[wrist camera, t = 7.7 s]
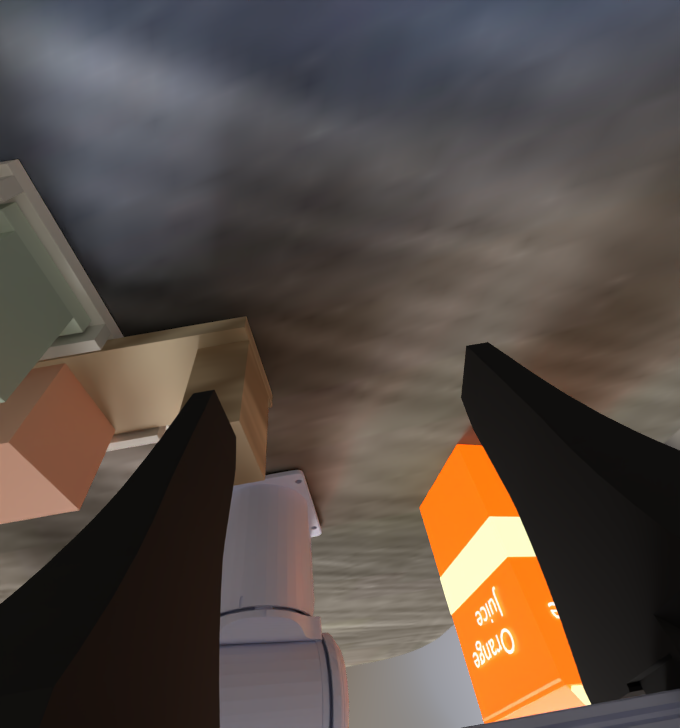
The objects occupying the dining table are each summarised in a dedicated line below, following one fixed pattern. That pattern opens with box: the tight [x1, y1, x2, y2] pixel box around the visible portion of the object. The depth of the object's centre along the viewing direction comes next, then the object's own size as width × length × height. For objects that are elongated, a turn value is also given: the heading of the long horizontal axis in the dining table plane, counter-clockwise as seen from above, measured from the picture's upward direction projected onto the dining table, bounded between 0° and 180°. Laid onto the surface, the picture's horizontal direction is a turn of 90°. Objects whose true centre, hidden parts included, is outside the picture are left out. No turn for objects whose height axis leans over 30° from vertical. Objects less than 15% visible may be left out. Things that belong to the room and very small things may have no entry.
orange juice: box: [420, 444, 591, 724], centre depth 25 cm, size 8×9×20 cm
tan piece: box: [32, 316, 273, 486], centre depth 19 cm, size 14×6×6 cm, turn 97°
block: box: [0, 363, 116, 524], centre depth 18 cm, size 5×5×5 cm
